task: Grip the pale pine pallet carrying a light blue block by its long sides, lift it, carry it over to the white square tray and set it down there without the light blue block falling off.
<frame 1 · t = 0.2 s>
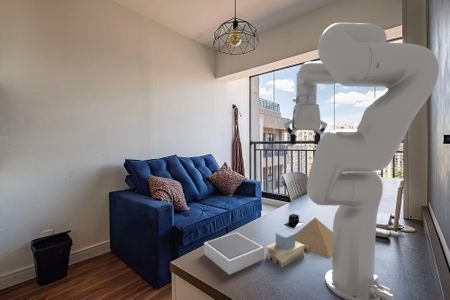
hand: (305, 144, 88), 37 cm above the table, tool pointing down, fingers open, 9 cm apart
black block on base: (293, 225, 101), on the table
model pyramid: (314, 244, 83), on the table
pallet: (285, 257, 73), on the table, touching light blue block
white square tray: (233, 256, 73), on the table
light blue block: (285, 245, 73), point 4 cm above the table, touching pallet
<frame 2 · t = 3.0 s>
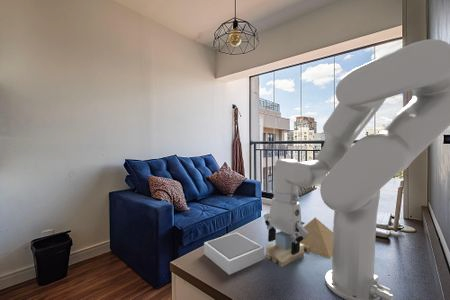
hand: (282, 246, 74), 3 cm above the table, tool pointing down, fingers open, 9 cm apart
pallet: (284, 257, 73), on the table
light blue block: (285, 245, 73), point 4 cm above the table
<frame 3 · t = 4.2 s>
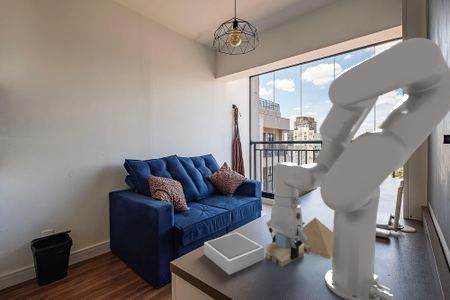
hand: (284, 252, 73), 1 cm above the table, tool pointing down, fingers closed on pallet, 6 cm apart
pallet: (284, 256, 73), on the table, touching light blue block, gripper
light blue block: (285, 244, 73), point 4 cm above the table, touching pallet
everything else where it was.
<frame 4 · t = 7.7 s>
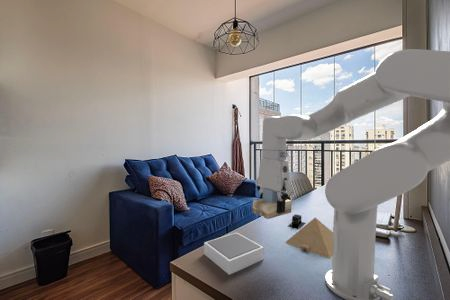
hand: (271, 208, 72), 16 cm above the table, tool pointing down, fingers closed on pallet, 6 cm apart
pallet: (271, 212, 72), point 15 cm above the table, touching light blue block, gripper
light blue block: (272, 200, 72), point 19 cm above the table, touching pallet
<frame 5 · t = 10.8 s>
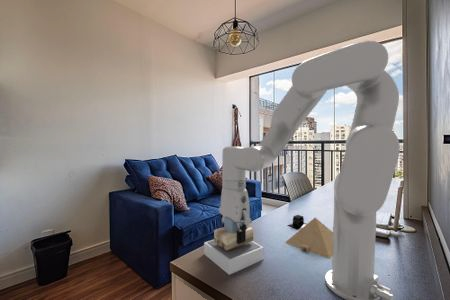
hand: (233, 237, 72), 6 cm above the table, tool pointing down, fingers closed on pallet, 6 cm apart
pallet: (233, 241, 72), point 5 cm above the table, touching light blue block, gripper
light blue block: (234, 229, 72), point 9 cm above the table, touching pallet
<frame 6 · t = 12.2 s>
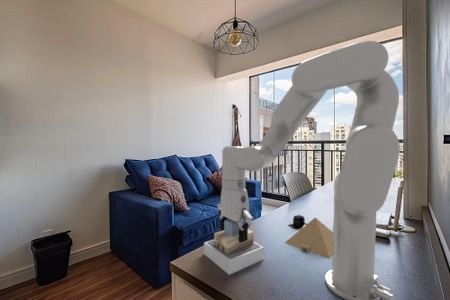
hand: (233, 235, 72), 7 cm above the table, tool pointing down, fingers open, 9 cm apart
pallet: (233, 244, 73), point 4 cm above the table, touching light blue block, white square tray
light blue block: (234, 232, 72), point 8 cm above the table, touching pallet
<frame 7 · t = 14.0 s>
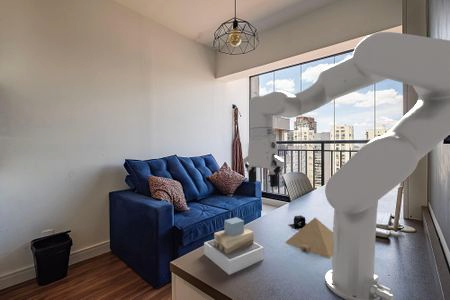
hand: (262, 184, 74), 24 cm above the table, tool pointing down, fingers open, 9 cm apart
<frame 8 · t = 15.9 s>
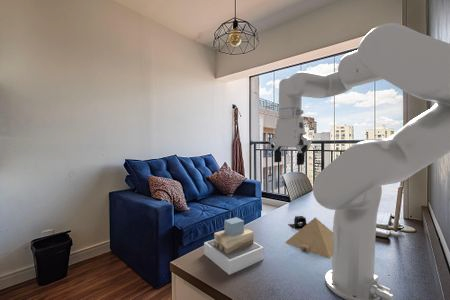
hand: (288, 163, 78), 30 cm above the table, tool pointing down, fingers open, 9 cm apart
at the end: pallet inside the target area on the white square tray (0.1 cm from its centre), point 4.2 cm above the white square tray's base; light blue block inside the target area on the pallet (0.1 cm from its centre), point 4.0 cm above the pallet's base; light blue block tilted 0° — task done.
